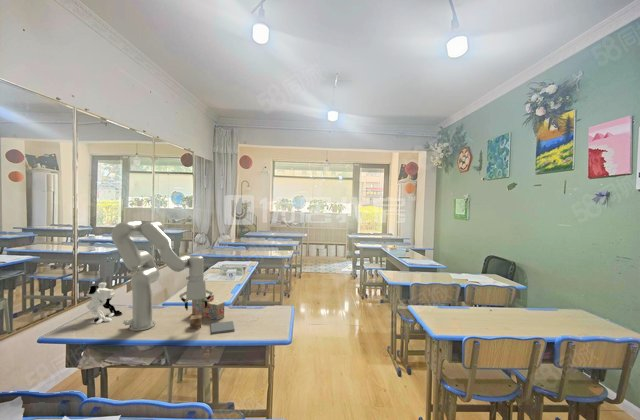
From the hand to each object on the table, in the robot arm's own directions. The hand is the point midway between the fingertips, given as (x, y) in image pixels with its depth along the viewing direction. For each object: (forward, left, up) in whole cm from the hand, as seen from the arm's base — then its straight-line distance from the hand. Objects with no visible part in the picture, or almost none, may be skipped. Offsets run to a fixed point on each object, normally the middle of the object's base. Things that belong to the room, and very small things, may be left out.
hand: (196, 308), depth 169 cm
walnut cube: (0, 0, -10) cm, 10 cm away
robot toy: (-52, +30, -10) cm, 61 cm away
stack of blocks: (+6, +16, -11) cm, 20 cm away
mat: (+14, -7, -10) cm, 19 cm away
